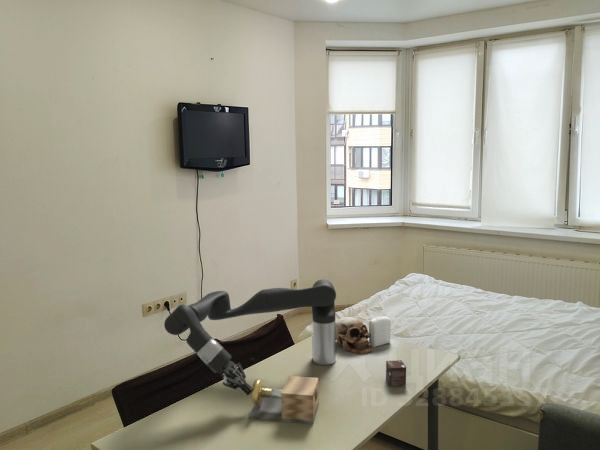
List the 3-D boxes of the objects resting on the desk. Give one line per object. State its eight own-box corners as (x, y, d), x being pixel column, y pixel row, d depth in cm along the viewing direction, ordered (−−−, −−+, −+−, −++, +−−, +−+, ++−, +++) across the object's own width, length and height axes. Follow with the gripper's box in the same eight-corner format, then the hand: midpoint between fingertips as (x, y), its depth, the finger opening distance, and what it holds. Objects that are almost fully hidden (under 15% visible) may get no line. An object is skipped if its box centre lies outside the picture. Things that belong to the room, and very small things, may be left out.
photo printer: (373, 348, 208) (373, 320, 206) (367, 344, 212) (367, 317, 210) (392, 343, 213) (392, 316, 211) (385, 339, 217) (385, 313, 215)
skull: (370, 354, 201) (367, 323, 200) (330, 354, 206) (327, 324, 205) (375, 341, 216) (372, 312, 215) (337, 342, 221) (334, 314, 220)
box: (385, 379, 179) (385, 360, 178) (401, 378, 179) (401, 359, 178) (389, 387, 173) (390, 367, 172) (406, 386, 173) (406, 366, 172)
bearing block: (248, 418, 154) (247, 390, 153) (258, 399, 166) (257, 373, 164) (313, 423, 150) (312, 395, 149) (318, 404, 162) (318, 377, 160)
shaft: (252, 409, 155) (251, 386, 154) (258, 397, 163) (258, 375, 162) (301, 413, 152) (301, 389, 151) (306, 400, 160) (305, 378, 159)
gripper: (213, 354, 166) (248, 390, 166) (199, 371, 154) (236, 410, 153) (228, 340, 165) (263, 376, 164) (214, 356, 152) (252, 395, 151)
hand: (250, 392), depth 159 cm, fingers closed
